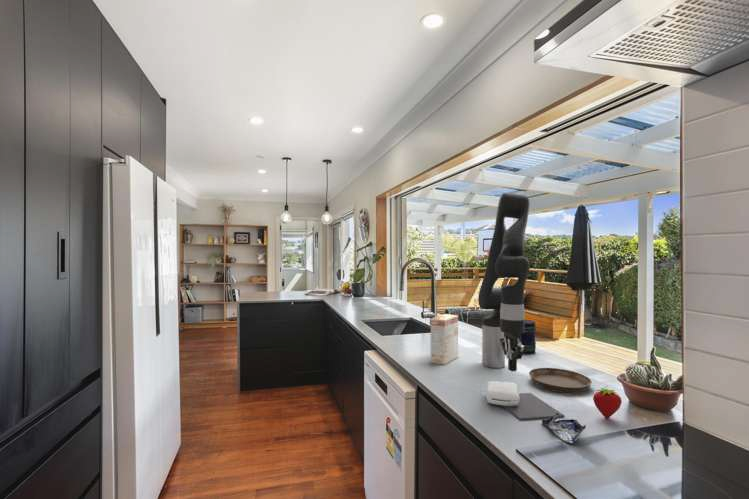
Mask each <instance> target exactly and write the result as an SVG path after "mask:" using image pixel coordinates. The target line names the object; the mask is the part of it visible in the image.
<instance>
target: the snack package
mask: <svg viewBox="0 0 749 499" xmlns="http://www.w3.org/2000/svg"><path fill="white" fill-rule="evenodd" d="M562 414H563V413H562ZM562 414H561V415H562ZM557 416H559V414H558V413H556V414H555V415H554V416H553V417H552V418H547V419H541V421H542V422H541V424H542V425H544V426H546V427H548V428H549V429H550V430H551V431H552V432H553V433H554V434H555V436H557V437H558V438H559V439H561V436H560V435H561V433H562V432H564V431H565V432H567V433H568V434H569V435H570V437H571V439H572V440H570V441H574V443H575V442H576V441H577V440H578V439H579V437H580V436H581V435H582V433H583V432H584V430H585V429H586V426H587V425H586V424H585V425H581V423H580V422H579V421H578V420H577V419H572V418H570V419H568V418H566V419H559V420H557V419H558V418H557ZM558 431H560V432H558ZM565 432H564V433H565Z"/></svg>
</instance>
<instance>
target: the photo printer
mask: <svg viewBox="0 0 749 499" xmlns="http://www.w3.org/2000/svg"><path fill="white" fill-rule="evenodd" d="M485 389H486V390H485V398H486V401H487V403H489V404H491V405H496V406H502V407H503V406H518V403H519V401H520V397H519V393H520V391H519V386H518V385H517V384H516V383H513V382H505V381H498V380H497V381H496V380H495V381H494V380H491V381H487V383H486V388H485Z"/></svg>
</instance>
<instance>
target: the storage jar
mask: <svg viewBox="0 0 749 499" xmlns="http://www.w3.org/2000/svg"><path fill="white" fill-rule="evenodd" d="M536 328H537V327H536V321H534V320H531V319H525V332H524V333H522V334H521V339H522V342H521V343H522V345H523V346H526V350H525V352H524V354H525V355H527V356H528V355H529V356H531V355H530V354H533V355H536V349H537V345H536V343H537V342H536V332H537V331H536ZM524 354H523V355H524Z"/></svg>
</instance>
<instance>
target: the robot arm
mask: <svg viewBox="0 0 749 499" xmlns="http://www.w3.org/2000/svg"><path fill="white" fill-rule="evenodd" d="M530 204H531V200H530V197H529V196H528V195H525V194H519V193H513V192H511V193H510V192H502V194H501V195H500V196H499V199H498V204H497V210H496V217H495V225H494V230H493V234H492V237H491V238H492V239H491V243H490V248H489V251H488V256H487V261H486V267H485V271H484V275H483V280H482V282H481V284H480V288H479V292H478V300H477V301H478V306H479V308H480V309H483V310H493V311H492V313H490V314H489V315H488V314H487V315H486V316H484V317H483V318H482V321H481V322H482V323H481V324H482V326H481V328H482V330H481V332H482V333H481V334H482V338H481V340H482V343H481V344H482V346H481V348H482V350H481V354H482V355H481V358H482V359H481V361H482V365H483V366H484V367H486V368H493V369H501V368H504V367H505V366H506V363H505V362H506V358H507V361H508V362H507V369H508V371H510V372H516V371H517V370H518V366H517V365H518V360H521V359H522V357H523V355H524V352H525V350H526V346H523V345H522V343H521V342H522V339H521V334H522V333H524V332H525V320H526V319H525V315H526V314H525V313H526V312H525V310H526V309H525V305H524V303H525V285H526V282H527V279H528V276H529V272H530V268H531V265H530V261H529V259H528V258H527V257H525V256H524V253H525V234H526V230H527V226H528V219H529V214H530V209H531V208H530V207H531V205H530ZM505 218H511V219H517V220H516V221H515V222H514V223H512V225H510V226H509V227H508V228H507V227H506V223H505ZM500 278H504V279H505V278H510V279H517V280H516V281H515V283H511V284H505V285H503V286H502V287H494V286H495V284H496V282H497V281H498V280H499V279H500Z"/></svg>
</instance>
